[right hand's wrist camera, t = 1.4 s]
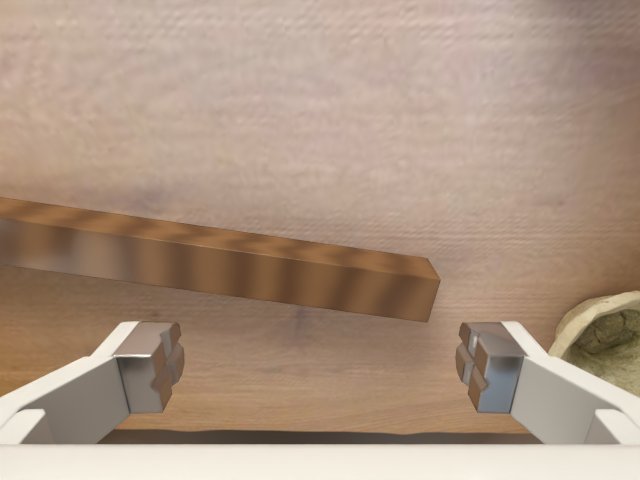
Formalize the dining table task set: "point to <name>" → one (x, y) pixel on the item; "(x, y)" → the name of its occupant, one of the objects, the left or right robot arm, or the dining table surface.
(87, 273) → the post
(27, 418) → the right robot arm
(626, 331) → the bowl
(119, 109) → the dining table surface
